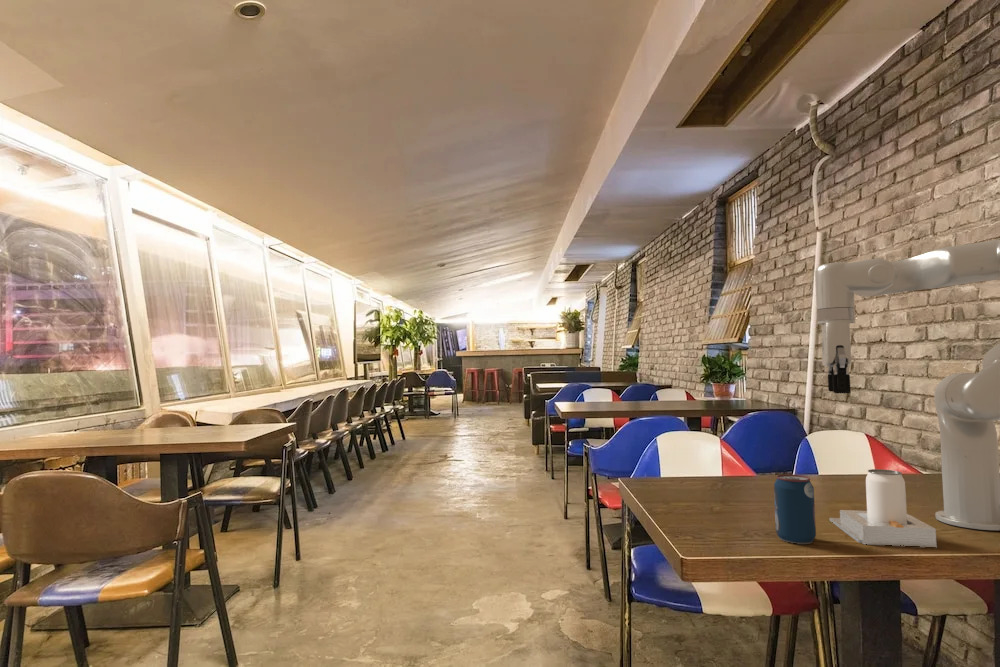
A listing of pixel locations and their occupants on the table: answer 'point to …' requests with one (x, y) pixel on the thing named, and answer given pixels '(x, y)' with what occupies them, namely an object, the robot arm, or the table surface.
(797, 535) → the soda can
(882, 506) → the can
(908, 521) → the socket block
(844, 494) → the table surface
